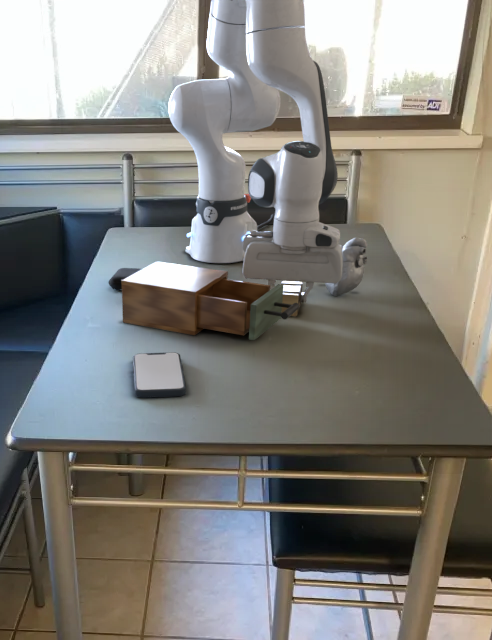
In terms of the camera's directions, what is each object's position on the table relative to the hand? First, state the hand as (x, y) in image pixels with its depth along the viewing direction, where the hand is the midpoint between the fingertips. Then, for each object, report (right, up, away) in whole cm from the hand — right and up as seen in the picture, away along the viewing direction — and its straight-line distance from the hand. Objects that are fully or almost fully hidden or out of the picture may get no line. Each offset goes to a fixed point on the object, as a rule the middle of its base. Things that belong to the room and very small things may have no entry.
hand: (289, 301), depth 171 cm
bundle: (0, -1, +1) cm, 2 cm away
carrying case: (-31, +8, +15) cm, 35 cm away
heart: (+13, +4, +9) cm, 16 cm away
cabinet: (-24, -4, -2) cm, 24 cm away
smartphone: (-28, -22, -27) cm, 45 cm away
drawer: (-11, -7, -9) cm, 16 cm away
